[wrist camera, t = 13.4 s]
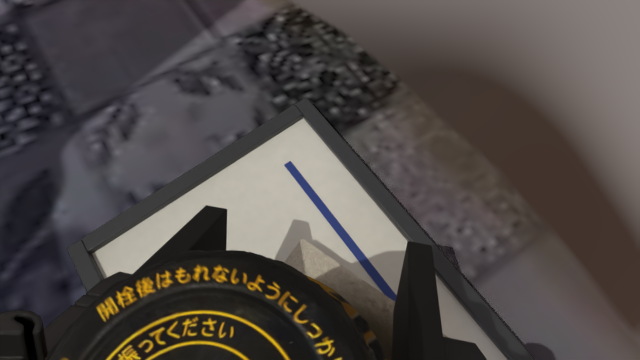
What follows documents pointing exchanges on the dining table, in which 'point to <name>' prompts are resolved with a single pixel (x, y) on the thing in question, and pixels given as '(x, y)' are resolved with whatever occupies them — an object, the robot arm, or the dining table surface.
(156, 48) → the dining table surface
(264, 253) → the whiteboard
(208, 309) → the condiment
